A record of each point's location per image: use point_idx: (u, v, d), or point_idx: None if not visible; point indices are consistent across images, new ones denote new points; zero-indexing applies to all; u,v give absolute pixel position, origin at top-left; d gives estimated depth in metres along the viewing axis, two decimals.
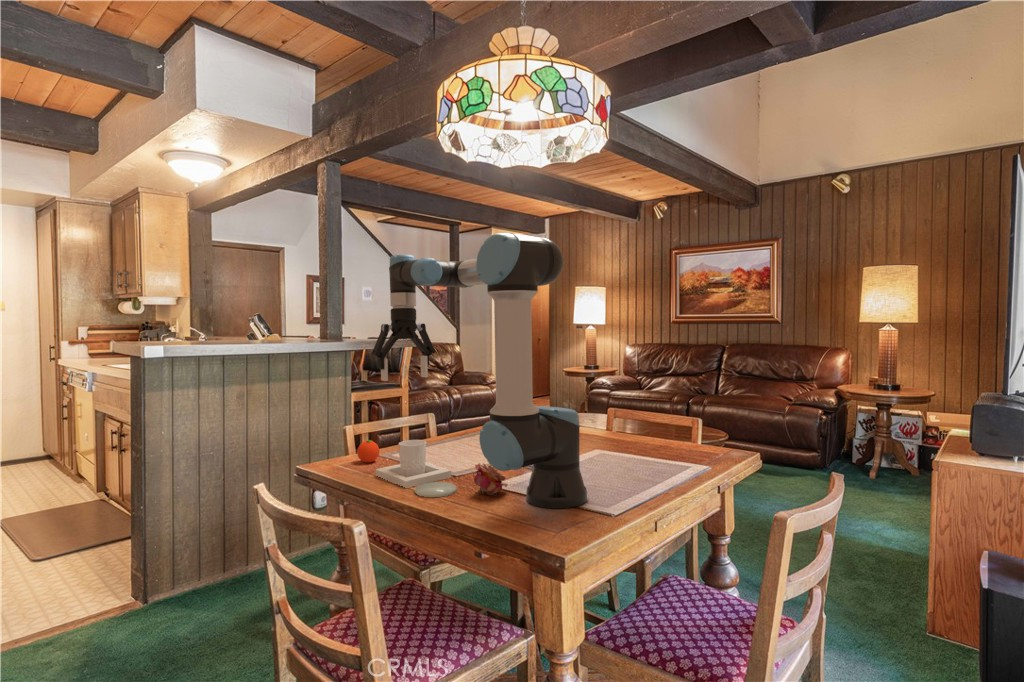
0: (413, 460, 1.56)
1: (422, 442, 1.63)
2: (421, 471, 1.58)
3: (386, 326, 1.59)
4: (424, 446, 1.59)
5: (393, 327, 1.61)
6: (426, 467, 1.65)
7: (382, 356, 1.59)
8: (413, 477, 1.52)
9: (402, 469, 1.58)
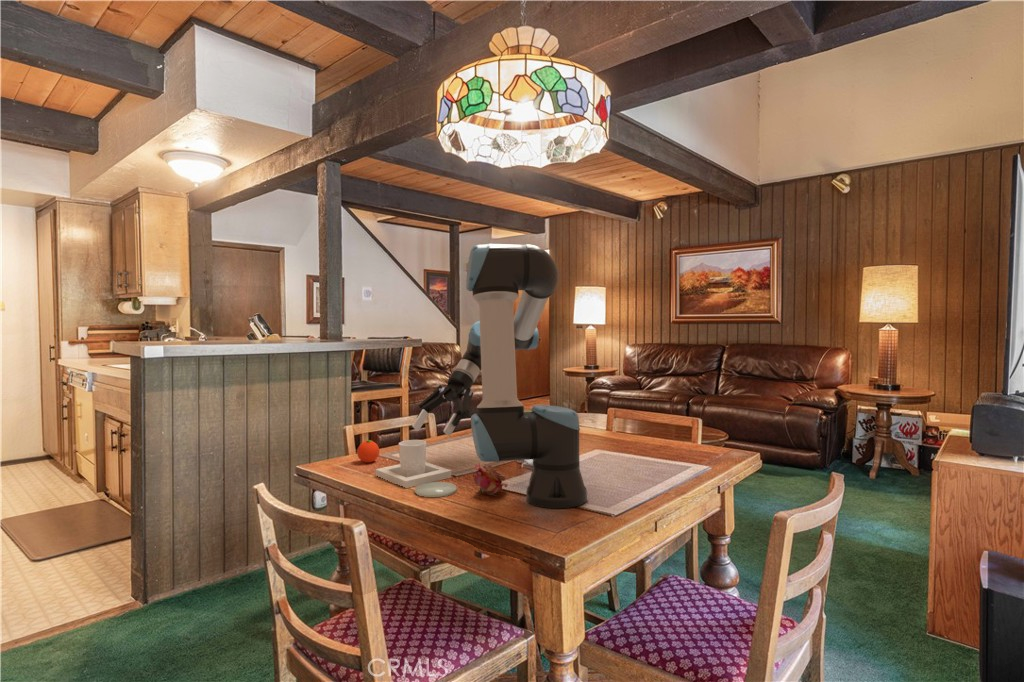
0: (413, 460, 1.56)
1: (422, 442, 1.63)
2: (421, 471, 1.58)
3: (439, 386, 1.78)
4: (424, 446, 1.59)
5: (444, 388, 1.77)
6: (426, 467, 1.65)
7: (422, 407, 1.75)
8: (413, 477, 1.52)
9: (402, 469, 1.58)
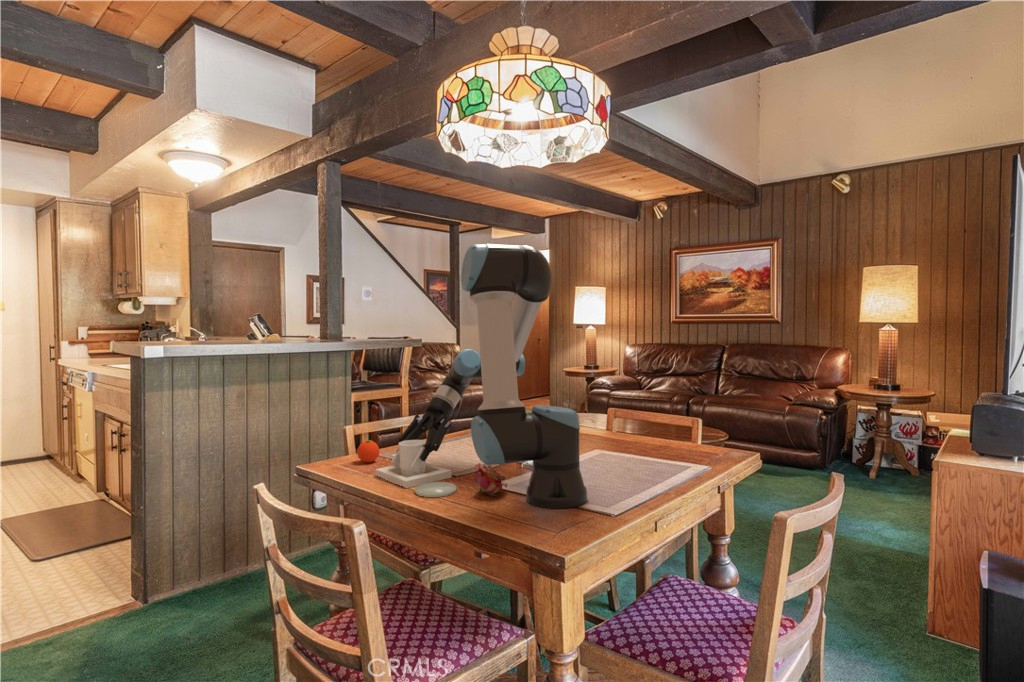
0: (413, 460, 1.56)
1: (422, 442, 1.63)
2: (421, 471, 1.58)
3: (415, 416, 1.69)
4: None
5: (422, 416, 1.68)
6: (426, 467, 1.65)
7: None
8: (413, 477, 1.52)
9: (402, 469, 1.58)
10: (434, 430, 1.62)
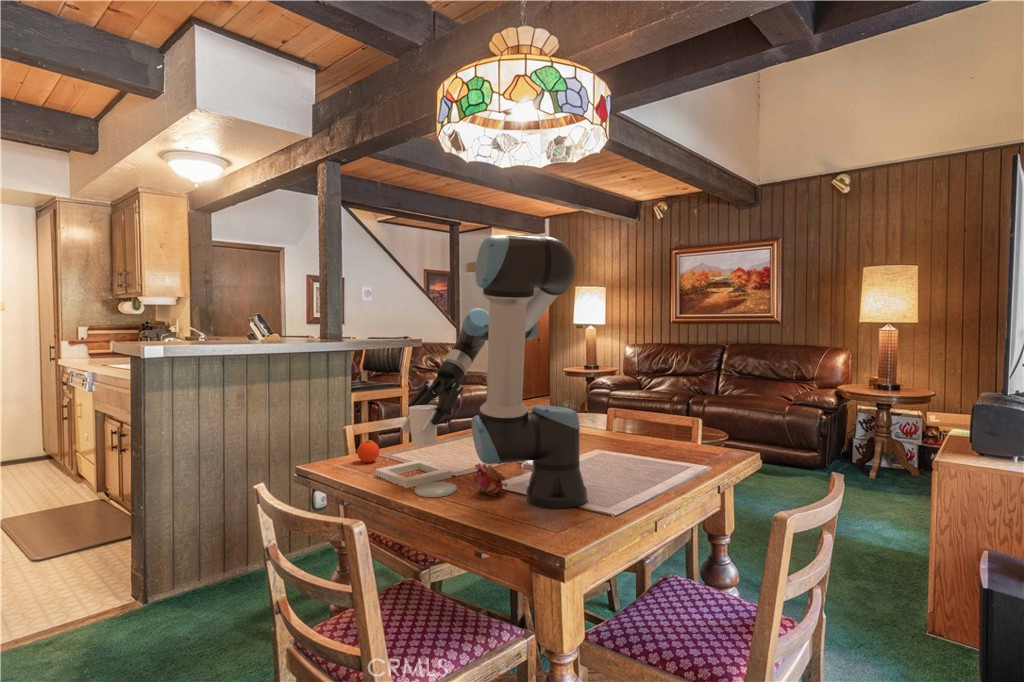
0: (424, 424, 1.49)
1: (433, 407, 1.56)
2: (433, 436, 1.51)
3: (425, 382, 1.62)
4: (435, 410, 1.52)
5: (432, 382, 1.61)
6: (426, 467, 1.65)
7: None
8: (413, 477, 1.52)
9: (413, 434, 1.51)
10: (445, 394, 1.55)
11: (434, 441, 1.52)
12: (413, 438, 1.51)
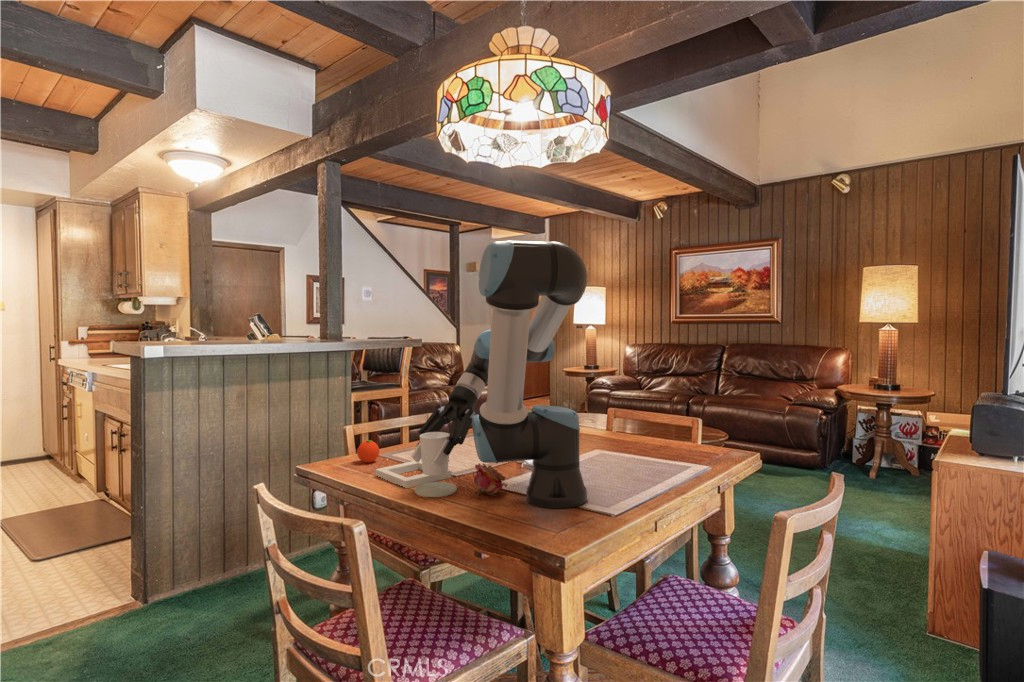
0: (436, 454, 1.42)
1: (445, 434, 1.49)
2: (445, 466, 1.44)
3: (436, 406, 1.55)
4: None
5: (444, 406, 1.54)
6: None
7: None
8: (413, 477, 1.52)
9: (424, 464, 1.44)
10: (458, 421, 1.48)
11: (446, 471, 1.45)
12: (424, 468, 1.44)
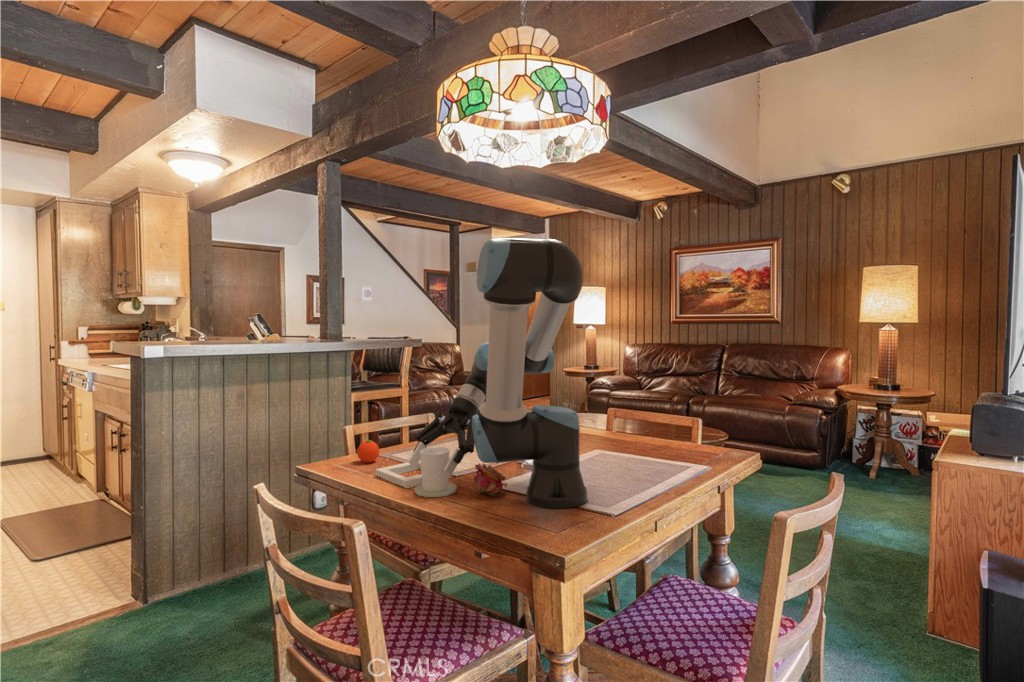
0: (436, 470, 1.43)
1: (445, 450, 1.49)
2: (445, 482, 1.45)
3: (438, 415, 1.56)
4: (448, 454, 1.45)
5: (445, 417, 1.54)
6: None
7: (419, 439, 1.52)
8: (413, 477, 1.52)
9: (424, 480, 1.44)
10: (462, 431, 1.48)
11: (446, 487, 1.45)
12: (424, 484, 1.44)
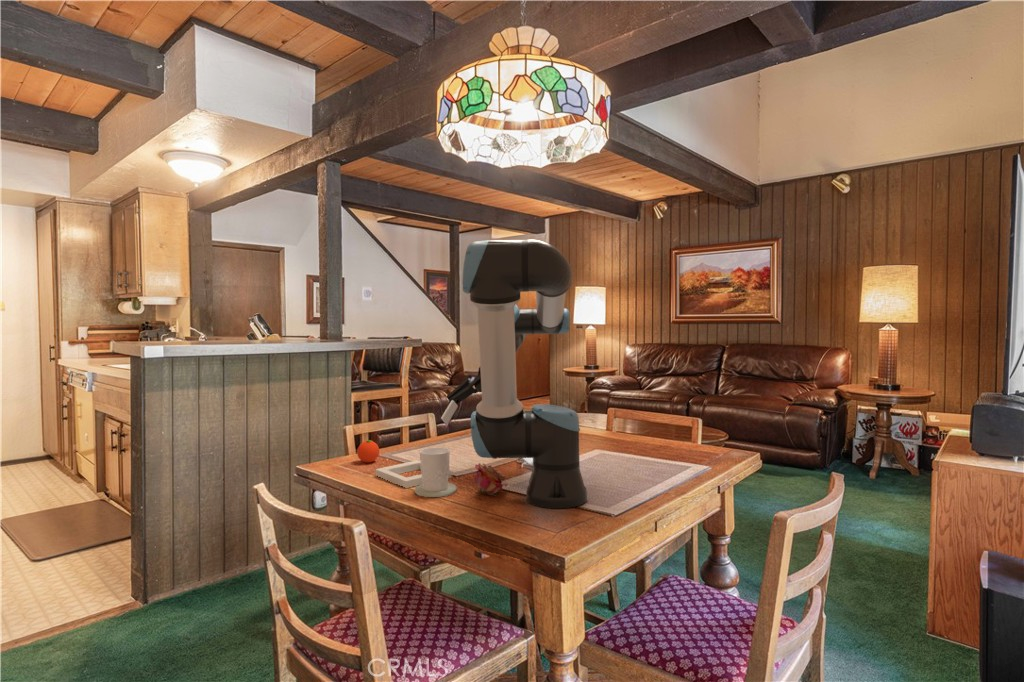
0: (436, 470, 1.43)
1: (445, 450, 1.49)
2: (445, 482, 1.45)
3: (468, 376, 1.66)
4: (448, 454, 1.45)
5: (474, 378, 1.64)
6: None
7: (450, 398, 1.62)
8: (413, 477, 1.52)
9: (424, 480, 1.44)
10: None
11: (446, 487, 1.45)
12: (424, 484, 1.44)
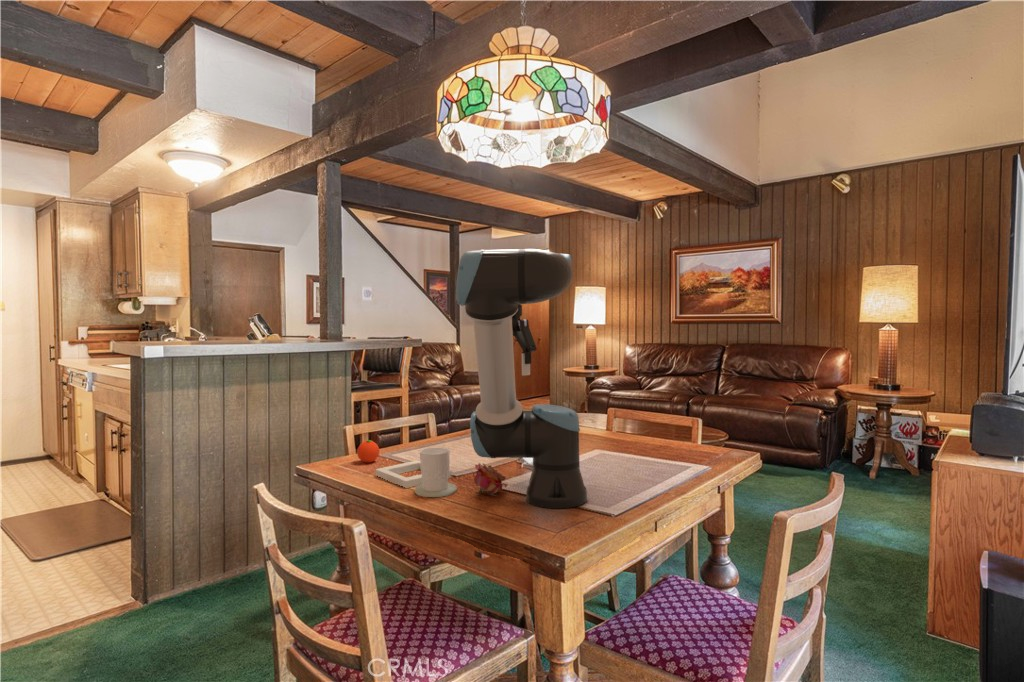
0: (436, 470, 1.43)
1: (445, 450, 1.49)
2: (445, 482, 1.45)
3: None
4: (448, 454, 1.45)
5: None
6: None
7: None
8: (413, 477, 1.52)
9: (424, 480, 1.44)
10: (519, 333, 1.64)
11: (446, 487, 1.45)
12: (424, 484, 1.44)
